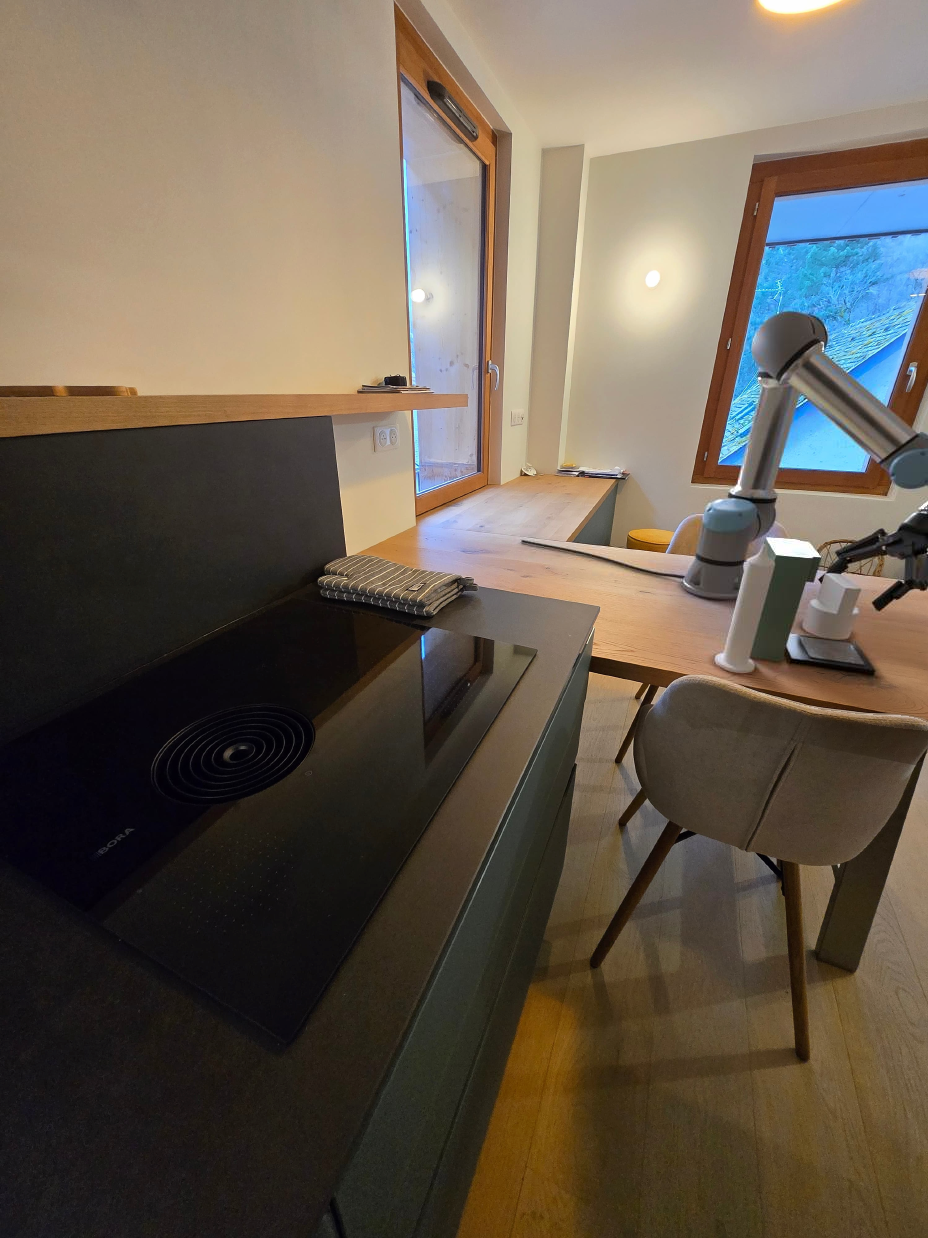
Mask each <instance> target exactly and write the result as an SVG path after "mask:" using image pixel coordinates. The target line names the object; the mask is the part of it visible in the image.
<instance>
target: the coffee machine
mask: <svg viewBox="0 0 928 1238" xmlns="http://www.w3.org/2000/svg"><path fill="white" fill-rule="evenodd" d="M763 541H764V542H763V545H764V544H767V554H768V557H769V558H770V559H771V560H772V561H774V563H775V566H774V570H773V574H772V577H771V581H770V584H769V588H768V592H767V595H766V599H765V603H764V606H763V610H762V613H761V617H760V621H759V624H758V628H757V632H756V635H755V639H754V642H753V646H752V650H751V653H750V657H749V658H750V659H751V658H752V659H759V660H765V661H772V662H778V663H779V662H780V663H781V662H782V661H783V658H784V655H786V657H787V660H788V662H789V664H791V665H793V664H794V665H800V666H805V667H813V668H819V669H827V670H833V671H840V672H848V673H854V674H855V673H856V674H860V675H867V676H868V675H869V676H875V673H876V672H877V670H876V669H875V667H874V666H873V664H872V663H871V662H870V660H869V659H868V657H867V655H866V654H865V653H864V652H863V650H862V649H861V647H860V646H859V644H858V643H857V642H856V641H852V640H845V639H840V640H836V639H828V638H823V637H819V636H811V635H805V634H796V633H792V628H793V626H794V622H795V618H796V616H797V613H798V609H799V606H800V603H801V600H802V596H803V594H804V590H805V587H806V585H807V583H811V584H812V583H815V580H816V577H817V573H818V572H819V571H818V570H819V568H820V564H821V561H822V557H823V556H821V554H820V553H818V551H817V550H816V549H815V548H814V547H813V545H812V544H811V543H810V542H809V541H801V540H799V539H791V538H780V537H779V538H777V537H765V538H764V540H763Z"/></svg>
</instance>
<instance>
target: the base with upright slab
mask: <svg viewBox="0 0 928 1238" xmlns="http://www.w3.org/2000/svg"><path fill="white" fill-rule="evenodd" d="M825 573H826V572H825ZM825 573H824V574H825ZM861 592H862V588H861V587H860V586H859V585H857V583H854V582H852V581H851V580H850V579H848V578H846V577H845V576H843V575H842V574H841V575H840V574H833V573H826V574H825V575H824V578H823V581H822V584H821V583H820V588H819V591H818V594H817V597H815V598H812V599H810V600H809V603H808V606H807V609H806V611H805V614H804V619H803V622H802V625H801V627H802V629H803V630H805V632H807V633H809V634H812V635H814V636H815V637H821V638H828V639H836V640H846V639H848V638H849V639H850V636H851V634H852V632H853V628H854V626H855V624H856V621H857V618H858V615H859V612H860V610H859V608H858V607H857V606H856V605H857V602H858V599H859V597H860V594H861Z"/></svg>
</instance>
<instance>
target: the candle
mask: <svg viewBox="0 0 928 1238" xmlns="http://www.w3.org/2000/svg"><path fill="white" fill-rule="evenodd" d="M746 559H747V560H746V561H745V566H744V574H743V578H742V582H741V586H740V590H739V594H738V598H737V599H736V602H735V606H734V610H733V613H732V614H733V615H732V618H731V622H730V626H729V631H728V635H727V639H726V642H725V647H724V650H723V652H720V653H718V654H716V655H715V657H714V663H715V664H716V665H717V666H718V667H719V668H720V669H723V670H725V671H728V672H731V673H735V674H749V673H752V672H753V671H754V670H755V668H756V665H755V662H754V661H753V660H752V659H751V657H750V653H751V650H752V646H753V642H754V639H755V635H756V632H757V628H758V624H759V621H760V617H761V613H762V610H763V606H764V603H765V599H766V595H767V592H768V588H769V584H770V581H771V577H772V574H773V570H774V566H775V563H774V561H772V560H771V559H770V558H769V557H768V554H767V544H764V543H763V544H762V546H761V549H760V550H759V552H758V553H757V554H756V555H753V556H751V557H749V558H746Z"/></svg>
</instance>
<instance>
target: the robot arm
mask: <svg viewBox="0 0 928 1238" xmlns="http://www.w3.org/2000/svg"><path fill="white" fill-rule="evenodd" d="M828 343H829V331H828V329H827V326H826V324H825V323H824V321H822V319H820V318H819V317H818V316H816V315H813V314H811V313H802V312H800V311H794V310H786V311H781V312H778V313H776V314H774V315H772V316H770V317H769V318H768V319H766V320H765V321H764V322H763V323H762V324H761V325H760V326H759V327H758V328H757V330H756V331H755V334H754V336H753V338H752V343H751V356H752V358H753V360H754V362H755V363H756V365H757V366H758V370H757V374H756V381H757V382H758V383H759V385H760V391H759V395H758V398H757V402H756V406H755V410H754V414H753V418H752V421H751V422H752V423H751V426H750V430H749V435H748V439H747V443H746V447H745V450H744V454H743V459H742V462H741V467H740V470H739V475H738V478H737V483H736V484H735V485H734V486H733V487H731V488H730V489H729V490H728V493H727V497H726V498H723V499H716V500H713V501H711V502H710V503H708V504H707V505H706V507H705V509H704V513H703V514H702V519H701V520H702V521H701V527H700V532H699V537H698V542H697V547H696V553H695V558H694V560H693V561H692V564H691V565H690V567H689V569H688V570H687V572H686V574H685V575H683V574H674V573H668V572H667V573H665V572H660V571H653V570H651V569H646V568H642V567H638V566H634V565H631V564H627V563H624V562H622V561H617V560H615V559H611V558H608V557H604V556H601V555H597V554H593V553H589V552H585V551H580V550H575V549H571V548H568V547H567V548H566V547H562V546H556V545H551V544H546V543H541V542H540V543H539V542H535V541H530V540H525V539H521V542H520V543H522V544H528V545H531V546H538V547H542V548H548V549H554V550H557V551H564V552H568V553H572V554H577V555H582V556H585V557H590V558H593V559H599V560H602V561H605V562H608V563H612V564H614V565H619V566H621V567H624V568H627V569H630V570H633V571H637V572H642V573H645V574H649V575H654V576H658V577H664V578H665V577H666V578H675V579H681V580H682V579H683V582H682V588H683V589H684V590H685V591H686V592H688V593H690V594H692V595H695V596H697V597H701V598H704V599H710V600H717V601H733V600H737V598H738V594H739V590H740V586H741V582H742V578H743V574H744V570H745V566H744V565H745V562H746V561H745V560H746V557H747V552H748V549H749V544H750V543H752V542H754V541H756V540H758V539H760V538H763V536H765V535H766V534H767V533H768V532H770V530H771V529H772V527H773V526H774V524H775V522H776V519H777V510H776V503H777V499H778V495H779V494H778V493H777V492H776V490H775V488H774V486H775V483H776V479H777V476H778V472H779V470H780V466H781V462H782V458H783V455H784V451H785V447H786V444H787V441H788V438H789V434H790V431H791V427H792V423H793V419H794V417H795V413H796V409H797V406H798V402H799V399H800V395H802V397H803V398H805V399H806V400H807V401H808V402H809V403H810V404H812V405H813V406H814V407H815V408H816V409H818V411H819V412H820V413H821V414H823V416H825V417H826V418H827V419H828V420H829V421H830V422H832V423H833V424H834V425H835V426H836V427H837V428H838V429H840V431H842V432H843V433H844V434H845V435H846V436H848V438H849V439H851V440H852V441H853V442H854V443H855V444H856V445H857V446H858V447H860V448H861V449H862V450H863V451H864V452H865V453H866V454H868V455H869V456H870V457H871V458H872V459H873V460H874V461H875V462H877V464H879V466H880V467H881V468H882V469H883V470H885V471H886V472H887V473H888V475H889V478H890V480H891V482H892V483H893V484H894V485H895V486H896V487H898V488H901V489H906V490H916V489H921V488H924V487H928V434H927V433H925V432H924V431H918V432H917V431H916V430H915V429H914V428H912V427H911V426H910V425H909V424H908V423H906V422H905V421H904V420H903V419H902V418H900V417H899V416H898V414H896V413H895V412H893V411H892V410H891V409H890V408H889V407H888V406H886V404H884V403H883V402H882V401H881V400H880V399H879V398H877V397H876V396H875V395H874V394H872V392H870V391H869V390H868V389H867V388H866V387H864V386H863V385H862V384H861V383H860V382H859V381H858V380H856V379H855V378H854V377H853V376H852V375H851V374H850V373H848V372H847V371H846V370H845V369H844V368H842V367H841V365H839V364H838V363H837V362H836V361H834V360H833V359H832V358H831V357H830V356H828V355H827V354H826V352H825V351H826V349H827V347H828ZM883 547H884V548H883ZM834 554H835V556H836V558H837V560H836V561H834V562H833V563H832V564H831V565H829V566H828V567H827V571H825V572H824V573H823V574H822V575H821V576H820V577H819V578H818V579H817V580H818V582H819V584H820V585H821V584H822V581H823V578H824V575H825V574H826V573H833V574H840V575H842V574H843V573H844V572H845V571H847V570H848V569H849V568H850V567H849V565H851V564H855V563H858V562H861V561H865V560H869V559H872V558H875V557H879V556H881V557H886V556H888V557H891V558H897V559H898V560H900V561H904V575H903V578H902V580H900V579H898V580H897V581H896V582H894V583H893V584H892V585H891V586H890V587H888V588H887V589H886V590H885V591H883V592H882V593H881V594H880V595H878V596H877V597H876V598H875V599H874V600H872V602H871V605H872V606H873V607H874V609H875V611H877V612H881V611H882V610H884V609H885V608H886V607H887V606H888V605H890V604H891V603H892V602H893V601H894V600H895V601H898V600H901V598H903V597H904V596H905V595H906V594H908V593H909V592H910V591H914V590H919V591H921V592H925V591H927V590H928V501H925V503H923V505H921V507H919V508H918V509H917V510H916V511H915V512H913V513H912V514H910V516H909V517H907V518H906V519H905V520H904V521H903V522H901V523H900V525H899V526H898V529H897V530H896V531H894V532H892V533H889V532H887V531H886V530H885V529H884V528H878V529H877V530H875V531H874V532H872V533H871V534H869V535H867V536H866V537H863V538H861V539H859V540H857V541H854V542H852V543H850V544H848V545H846V546H844V547H841V548H839V549H837V550H835V551H834ZM925 554H926V556H925V559H924V561H923V564H922V566H921V568H920V571H919V573H918V575H917V565H918V561H919V559H918V557H919V556H922V555H925Z"/></svg>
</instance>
